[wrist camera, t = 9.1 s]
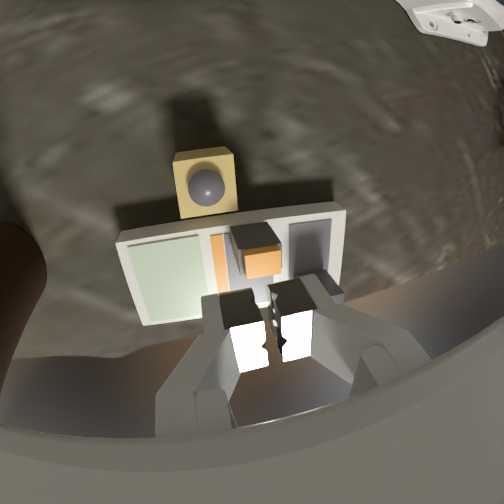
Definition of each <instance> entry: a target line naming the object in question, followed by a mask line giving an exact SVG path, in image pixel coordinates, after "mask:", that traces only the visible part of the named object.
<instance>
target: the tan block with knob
mask: <svg viewBox="0 0 504 504" xmlns="http://www.w3.org/2000/svg"><path fill="white" fill-rule="evenodd" d="M173 170H174V177H175V184H176V190H177V197H178V203H179V210H180V216H181V219H183V218H190V217H196V216H203V215H210V214H216V213H223V212H231V211H238V204H237V192H236V180H235V168H234V155H233V153H232V152H231V151H229V150H228V149H227V148H226V147H225V146H221V147H213V148H205V149H197V150H190V151H183V152H177V153H176V154H175V157H174V159H173Z"/></svg>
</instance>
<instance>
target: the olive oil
mask: <svg viewBox="0 0 504 504" xmlns="http://www.w3.org/2000/svg"><path fill="white" fill-rule="evenodd" d="M46 281H47V271H46V265H45V262H44V259H43V256H42V254H41V252H40V250H39V248H38V246H37V245H36V243H35V242H34V241H33V239H32V238H31V237H30V236H29V235H28V234H27V233H26V232H24V231H23V230H22V229H20V228H19V227H17V226H15V225H12V224H6V223H3V224H0V393H1V390H2V386H3V383H4V380H5V377H6V374H7V371H8V368H9V365H10V362H11V360H12V357H13V354H14V352H15V349H16V347H17V344H18V342H19V340H20V337H21V335H22V333H23V330H24V328H25V326H26V324H27V322H28V319H29V317H30V315H31V313H32V311H33V310H34V308H35V306H36V304H37V302H38V300H39V298H40V296H41V295H42V293H43V291H44V289H45V286H46Z"/></svg>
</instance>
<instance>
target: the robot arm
mask: <svg viewBox="0 0 504 504" xmlns="http://www.w3.org/2000/svg"><path fill="white" fill-rule="evenodd" d="M396 1H397V2H398V3H399V4H400V5H401V6H402V7H403V8H404V9H405V10H406V12H407V14H408V15H409V17H410V19H411V20H412V22H413V23H414V25H415V26H416V28H417V29H418V30H419V31H420V32H422V33H425V34H430V35H436V36H441V37H445V38H450V39H454V40H458V41H462V42H466V43H470V44H473V45H477V46H486V44H487V39H488V31H500V30H503V29H504V0H396ZM266 297H267V299H268V302H269V305H268V307H267V310H268V317H269V323H270V326H271V330H272V333H273V335H274V336H275V337H277V346H278V349H279V351H280V354H281V357H282V359H283V361H284V362H285V361H289V360H294V359H298V358H302V357H306V356H310V355H311V357H312V358H314V359H315V360H316V361H318V362H320V363H321V364H322V365H324V366H325V367H327V368H328V369H330V370H331V371H333V372H334V373H336V374H337V375H338V376H340V377H341V378H343V379H344V380H346V381H347V382H349V383H350V384H352V386H351V390H350V393H349V396H348V398H346V399H343V400H341V401H337V402H335V403H331V404H329V405H325V406H322V407H319V408H316V409H313V410H309V411H306V412H303V413H299V414H295V415H292V416H288V417H285V418H280V419H277V420H272V421H268V422H263V423H259V424H254V425H249V426H244V427H239V428H237V425H236V422H235V419H234V417H233V414H232V411H231V408H230V405H229V403H228V402H229V399H230V397H231V395H232V392H233V390H234V388H235V385H236V383H237V381H238V378H239V376H240V372H243V371H247V370H251V369H256V368H259V367H264V366H267V365H268V360H267V350H266V347H265V344H264V341H265V331H264V322H263V319H262V316H261V313H260V310H259V307H258V305H257V304H255V296H254V292H253V290H252V288H245V289H240V290H234V291H228V292H222V293H219V295H218V294H217V293H216V294H211V295H206V296H201V308H202V319H203V329H204V334H201V335H198V337H197V338H196V340H195V341H194V342H193V344H192V345H191V347H190V348H189V349H188V351H187V352H186V353H185V355H184V356H183V358H182V359H181V361H180V362H179V364H178V365H177V366H176V367H175V369H174V370H173V372H172V373H171V374H170V376H169V377H168V378H167V380H166V381H165V383H164V384H163V385H162V387H161V388H160V390H159V391H158V392H157V393H156V416H155V418H156V419H155V421H156V422H155V425H156V426H155V431H156V432H155V433H156V437H154V438H92V437H91V438H90V437H76V436H66V435H57V434H49V433H42V432H36V431H29V430H24V429H19V428H14V427H10V426H5V425H1V424H0V504H504V316H502V317H501V318H500V319H498V320H497V321H495V322H494V323H493V324H491V325H490V326H488V327H487V328H485V329H484V330H482V331H481V332H479V333H478V334H476V335H475V336H473V337H472V338H470V339H468V340H467V341H465V342H464V343H462V344H460V345H459V346H457V347H455V348H453V349H452V350H450V351H448V352H447V353H445V354H443V355H441V356H439V357H438V358H436V359H434V360H431V359H430V357H429V356H428V355H427V354H426V352H425V351H424V350H423V349H422V347H421V346H420V345H419V344H418V343H417V341H416V340H415V339H414V337H413V336H412V335H411V334H410V332H409V331H407V330H404V329H402V328H399V327H397V326H394V325H392V324H389V323H387V322H384V321H382V320H380V319H377V318H375V317H372V316H370V315H368V314H365V313H363V312H360V311H358V310H355V309H353V308H350V307H348V306H346V305H344V304H341V303H340V304H336V303H335V302H334V300H333V299H332V298H331V296H330V295H329V293H328V292H327V290H326V289H325V288H324V286H323V285H322V283H321V282H320V281H319V279H318V278H317V276H316V275H315V274H309V275H305V276H301V277H298V278H295V279H290V280H286V281H281V282H277V283H272V284H267V285H266Z"/></svg>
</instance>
